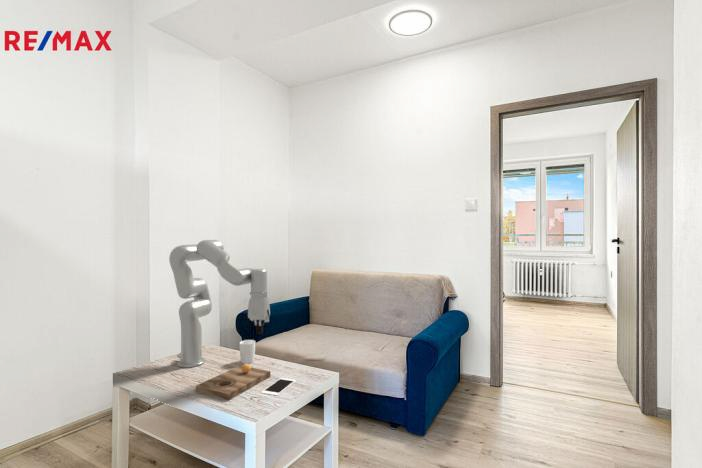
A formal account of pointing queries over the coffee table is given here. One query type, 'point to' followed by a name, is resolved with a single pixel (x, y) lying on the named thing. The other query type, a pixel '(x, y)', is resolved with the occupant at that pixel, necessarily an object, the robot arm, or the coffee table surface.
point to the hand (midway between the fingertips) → (259, 333)
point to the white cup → (247, 351)
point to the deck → (232, 382)
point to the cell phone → (278, 386)
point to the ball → (246, 368)
